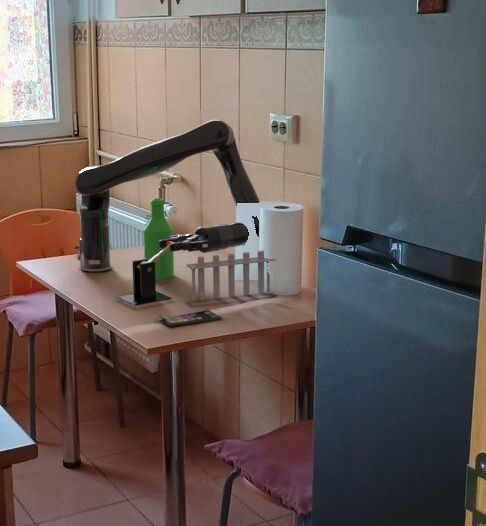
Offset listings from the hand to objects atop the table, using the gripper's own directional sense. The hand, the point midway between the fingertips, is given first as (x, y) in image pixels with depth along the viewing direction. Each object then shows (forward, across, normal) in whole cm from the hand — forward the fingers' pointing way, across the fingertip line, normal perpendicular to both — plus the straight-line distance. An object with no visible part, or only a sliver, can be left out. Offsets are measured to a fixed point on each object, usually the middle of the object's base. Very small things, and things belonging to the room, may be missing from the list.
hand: (165, 246), depth 261 cm
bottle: (-9, -18, +15) cm, 25 cm away
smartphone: (+6, +21, +15) cm, 27 cm away
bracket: (+7, 0, +15) cm, 17 cm away
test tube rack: (-13, +13, +15) cm, 24 cm away
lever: (+2, 0, +4) cm, 4 cm away
